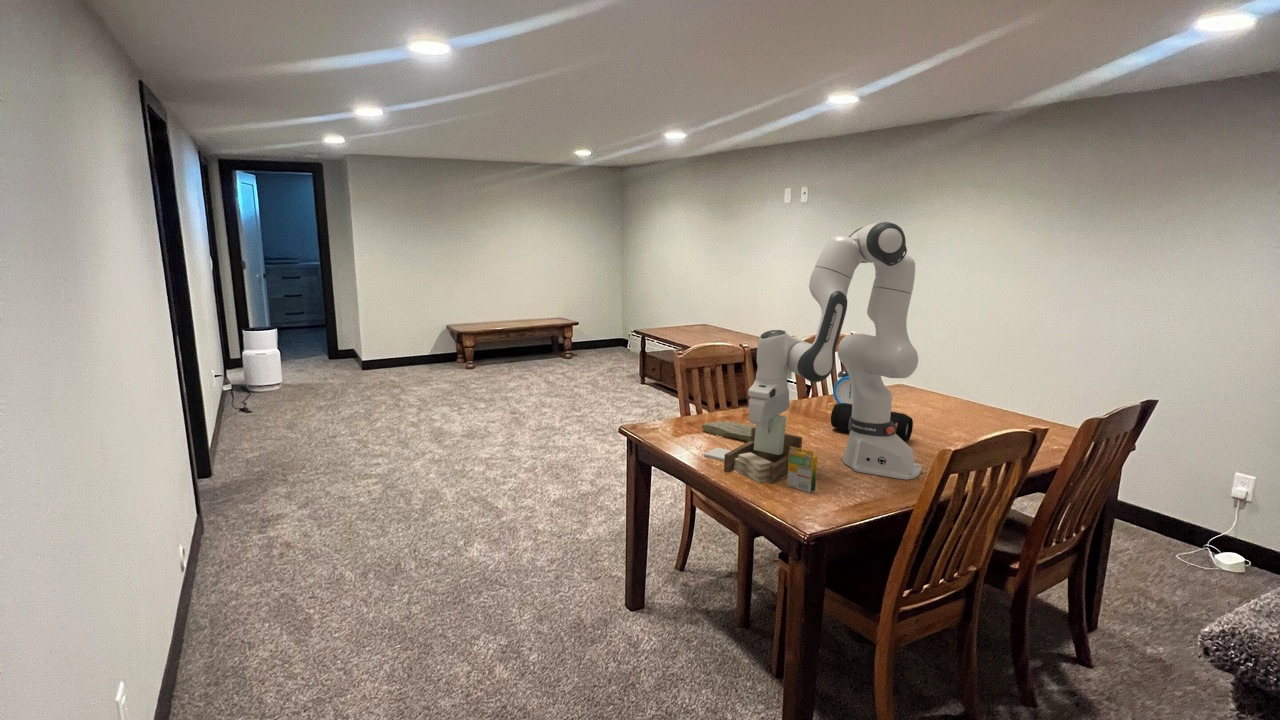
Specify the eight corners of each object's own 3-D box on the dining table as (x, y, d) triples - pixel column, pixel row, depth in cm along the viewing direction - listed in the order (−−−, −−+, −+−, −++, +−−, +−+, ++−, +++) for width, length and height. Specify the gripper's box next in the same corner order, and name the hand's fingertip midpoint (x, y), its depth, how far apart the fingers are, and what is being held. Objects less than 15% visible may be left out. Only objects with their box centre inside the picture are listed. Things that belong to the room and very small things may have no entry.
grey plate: (747, 456, 208) (747, 454, 208) (735, 464, 201) (735, 461, 201) (716, 449, 214) (716, 447, 214) (703, 456, 208) (704, 453, 208)
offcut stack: (772, 480, 190) (774, 463, 189) (759, 483, 187) (760, 465, 186) (746, 467, 200) (747, 450, 199) (733, 470, 197) (734, 453, 196)
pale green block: (782, 453, 197) (786, 416, 196) (778, 455, 194) (782, 417, 194) (757, 448, 202) (761, 412, 201) (753, 449, 199) (757, 413, 198)
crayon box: (815, 489, 183) (818, 449, 181) (810, 493, 181) (813, 452, 178) (791, 482, 188) (794, 443, 185) (786, 485, 185) (789, 445, 183)
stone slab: (716, 417, 241) (795, 429, 224) (715, 428, 241) (795, 441, 225) (699, 424, 230) (781, 438, 214) (699, 436, 231) (781, 450, 215)
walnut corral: (800, 465, 201) (802, 437, 199) (774, 483, 187) (776, 453, 185) (752, 454, 210) (753, 426, 208) (723, 470, 196) (725, 441, 194)
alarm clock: (831, 406, 267) (834, 370, 264) (835, 403, 272) (837, 367, 269) (865, 411, 261) (868, 374, 258) (868, 408, 266) (871, 371, 263)
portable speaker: (828, 432, 235) (830, 404, 233) (839, 425, 243) (841, 399, 240) (903, 447, 220) (906, 418, 218) (912, 440, 227) (915, 412, 225)
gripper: (776, 377, 205) (774, 421, 208) (745, 391, 189) (743, 438, 192) (795, 380, 201) (793, 424, 204) (765, 394, 185) (763, 442, 188)
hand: (769, 431), depth 198 cm, fingers closed on pale green block, 3 cm apart
